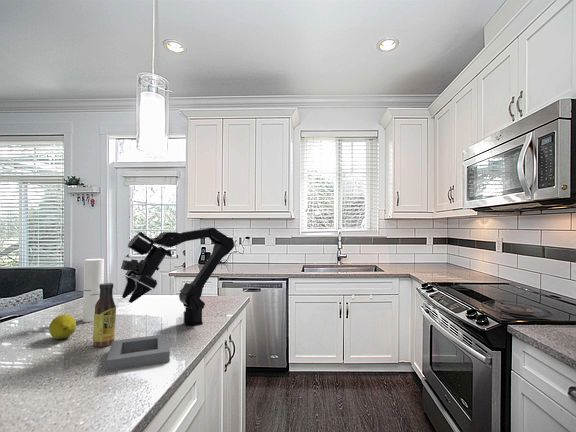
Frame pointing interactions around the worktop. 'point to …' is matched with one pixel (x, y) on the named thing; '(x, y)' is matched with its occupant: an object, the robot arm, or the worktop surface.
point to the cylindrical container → (92, 286)
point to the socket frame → (138, 358)
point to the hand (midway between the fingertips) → (126, 300)
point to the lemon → (62, 326)
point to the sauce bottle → (104, 317)
